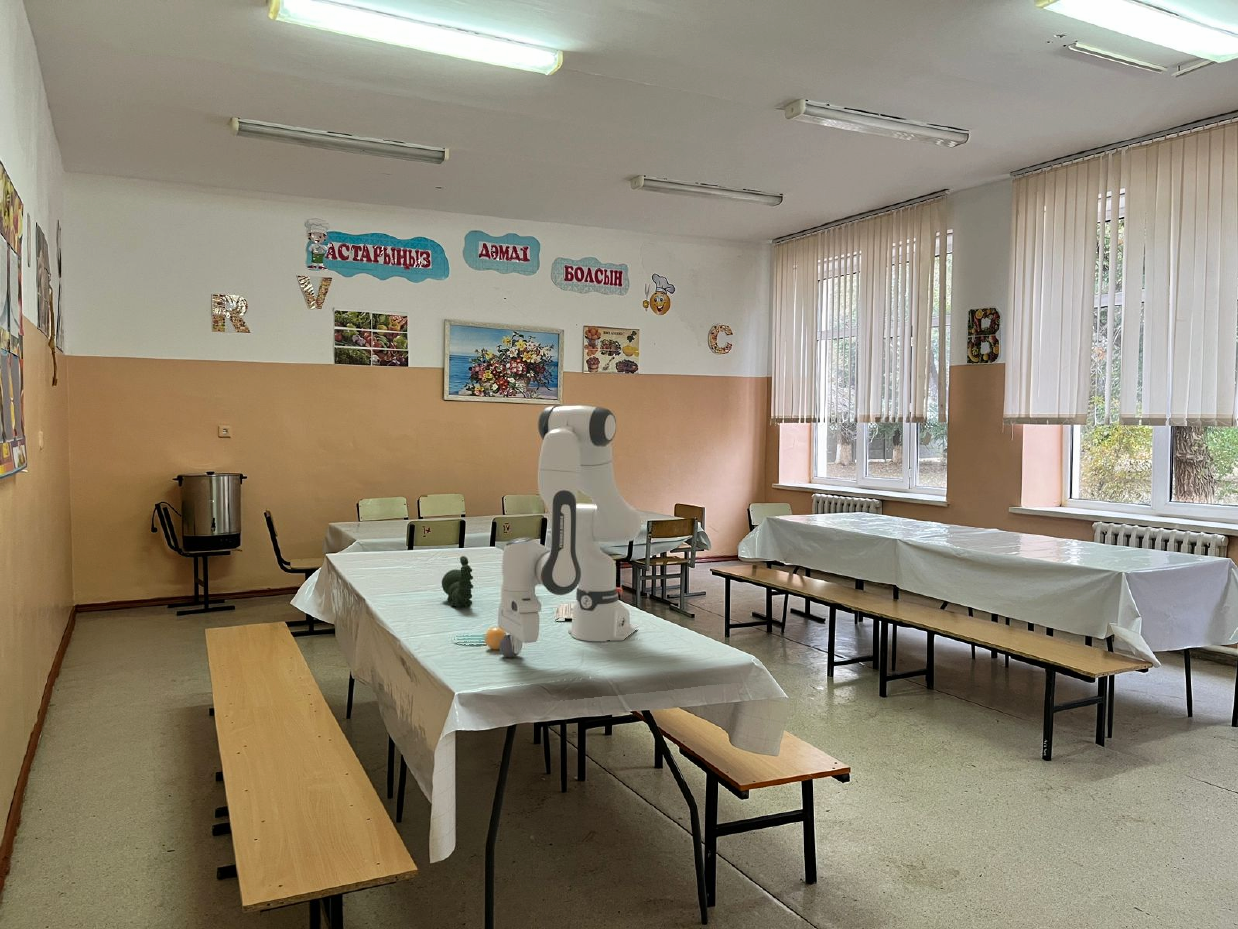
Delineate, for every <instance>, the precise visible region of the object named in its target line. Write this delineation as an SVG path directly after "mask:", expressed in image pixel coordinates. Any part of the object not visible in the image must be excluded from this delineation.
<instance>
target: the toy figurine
mask: <svg viewBox="0 0 1238 929" xmlns="http://www.w3.org/2000/svg"><path fill="white" fill-rule="evenodd" d="M459 559H460V560H459V562H460V564H461V568H460V569H451V570H449V571H447V572H446V573H445V574H444V575H443V577H442V579H441V587H442V589H443V592H444V593H445V594H446V595H448V597H447V598H446V601H447V603H449V604H450V606H451V607H452V606H455V607H460V606H461V607H462V606H466V605H467V606H466V607H470V606H472V605H473V600H471V599H472V598H473V594H472V589H474V585H473V583H472V580H473V579H474V576H473V575H472V572H473V569H472V568H471V566H470V565H468V564H469V560H468V557H467V556H466V555H462V556H460V558H459Z"/></svg>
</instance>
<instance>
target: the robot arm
mask: <svg viewBox="0 0 1238 929" xmlns="http://www.w3.org/2000/svg"><path fill="white" fill-rule="evenodd" d="M537 429H538V433H539V435H540V438H541V439H542V444H541V448H540V454H539V459H538V468H537V469H538V470H537V487H538V495H539V497H540V499H541V500H542V501H543V503H544V504H545V506H546V508H547V511H548V513H549V516H550V547H547V546H545V545H543V544H541V543H539V542H538V541H536V540H535V539H534V538H533V537H530V536H529V537H527V536H526V537H518V538H513V539H510V540H509V541H507V543H506V544H505V545H504V548H503V552H502V561H501V564H502V565H501V574H502V584H501V587H500V593H501V594H500V603H499V606H498V614H497V627H499V628H500V629H502V630H504V631H505V632H506V634H508V635H510V639H511V643H512V651H513V652H514V653H519V654H520V653H521V652H522V649H521V646H522V647H523V643H524V644H531V643H536V642H537V641H538V639H539V632H540V612H541V611H542V603H541V602H540V600H539V599H538V597H537V594H536V587H537V586H538V585H539V586H540V585H542V586H543V587H544V588H545V589H546V590H547V591H548V592H549V593H551V594H553V595H556V596H564V595H568V594H570V593H571V592H573V591H574V590H575V589H576V592H575V595H576V597H575V598H576V599H575V600H576V601H577V602H576V603H574V604H575V605H574V607H573V616H572V620H571V627H569V628H567V629H568V631H567V632H568V633H569V634H571V636H572V637H573V638H575V639H576V640H580V641H587V642H607V640H610V641H624V639H625V638H626V637H627V638H628V635H629V634H630V633H632V632H633V631H634V630H635V629H636V628H637V629H638V626H637V625H634V624H632V623H630V621H631V620H630V617H631V616H630V611H629V609H628V608H626V606H625V605H623V603H622V602H621V601H619V599H620V598H619V595H622V594H623V587H617V586H616V585H617V584H616V583H617V582H616V579H617V566H616V562H615V560H614V559H613V558H612V557H611V556H610V555H609V554H607V553H605V552H603V550H602V549H601V548H600V546H599V544H598V543H599V542H600V543H617V544H620V543H627V542H631V541H634V540H635V539H636V538H637V537H638V536H639V535H640V532H641V529H642V519H641V516H640V514H639V512H638V511H637V509H636V508H634V507H633V506H632V505H630V504H629V503H628V502H627V501H626V500H625V499H624V497H623V496H622V495H621V493H620V491H619V488H618V486H617V483H616V479H615V473H614V472H615V471H614V460H613V450H612V449H613V448H612V443H611V442H612V441H613V440H614V438H615V435H616V431H617V421H616V417H615V415H614V414H613V412H612V411H611V410H610V409H608V408H605V407H601V406H597V407H594V406H590V405H580V404H579V405H578V404H576V405H551V406H547V407H545V408H544V409H543V411H541V413H540V415H539V416H538V421H537ZM579 492H580V493H581V494H583V495H585V496H587V497H589V498H590V499H591V500H592V501H593V503H582V502H581V503H580V502H579V503H578V495H579ZM632 634H633V633H632ZM627 638H626V639H627ZM626 639H625V640H626Z"/></svg>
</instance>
